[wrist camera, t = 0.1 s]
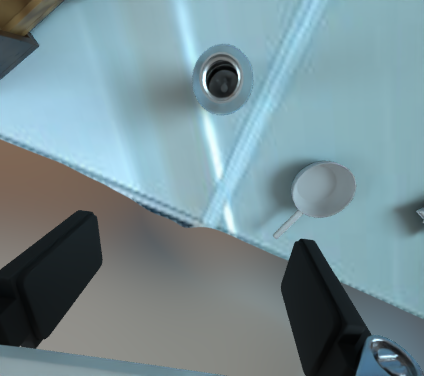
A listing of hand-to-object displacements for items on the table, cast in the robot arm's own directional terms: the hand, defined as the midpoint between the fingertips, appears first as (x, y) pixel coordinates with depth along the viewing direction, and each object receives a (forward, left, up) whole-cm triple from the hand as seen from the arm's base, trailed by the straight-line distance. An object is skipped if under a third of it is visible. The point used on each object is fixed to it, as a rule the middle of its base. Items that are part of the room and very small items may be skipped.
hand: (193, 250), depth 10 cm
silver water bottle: (-8, 0, -31) cm, 32 cm away
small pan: (+10, +18, -31) cm, 38 cm away
